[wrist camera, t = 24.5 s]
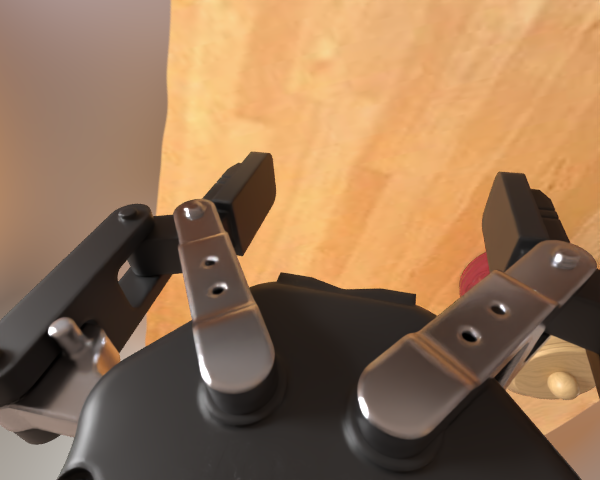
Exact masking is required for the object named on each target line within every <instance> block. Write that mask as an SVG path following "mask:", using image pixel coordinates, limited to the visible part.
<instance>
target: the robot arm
mask: <svg viewBox="0 0 600 480" xmlns="http://www.w3.org/2000/svg"><path fill="white" fill-rule="evenodd" d="M275 197H276V184H275V175H274V166H273V158H272V155H271V154H270V153H262V152H251V153H250V154H249V155H248V156H247V157H246V158H245V160H244V161H243V162H242V163H237V164H236V165H234V166H232V167H230V168H229V169H227V171H226V172H225V173H224V174H223V175H222V177H221V178H220V179H219V180H218V181H217V183H215V184H214V186H213V187H212V188H211V189H210V190H209V191H208V193H207V194H206V195H205V196H204V197H203V198H202V199H194V200H190V201H187V202H184V203H182V204H181V205H179V206H178V207H177V208H176V209H175V211H174V213H173V215H164V216H153V215H152V212H151V210H150V208H149V207H148V206H147V205H143V204H132V205H127V206H124V207H121V208H119V209H117V210H115V211H114V212H113V213H111V214H110V215H109V216H108V218H106V219H105V220H104V221H103V222H102V223H101V224H100V225H99V226H98V227H97V228H96V229H95V230H94V231H93V232H92V233H91V234H90V235H89V236H88V237H87V238H85V239H84V241H82V242H81V243H80V244H79V245H78V246H77V247H76V248H75V249H74V250H73V251H72V252H71V253H70V254H69V255H68V256H67V257H66V258H65V259H64V260H63V261H62V262H60V263H59V264H58V266H56V267H55V268H54V269H53V270H52V271H51V272H50V273H49V274H48V275H47V276H46V277H45V278H44V279H43V280H42V281H41V282H40V283H39V284H37V285H36V286H35V287H34V288H33V289H32V290H31V291H30V292H29V293H28V294H27V295H26V296H25V297H24V298H23V299H22V300H21V301H20V302H19V303H18V304H17V305H16V306H15V307H14V308H13V309H11V310H10V311H9V312H8V313H7V314H6V315H5V316H4V317H3V318H2V319H1V320H0V425H1V426H2V427H4V428H5V429H7V430H9V431H12V432H14V433H15V434H17V435H18V436H19V437H21V438H22V439H23V440H25V441H26V442H28V443H30V444H36V445H38V444H44V443H47V442H49V441H51V440H53V439H55V438H57V437H58V436H60V435H66V436H70V437H74V441H73V444H72V447H71V450H70V452H69V455H68V458H67V460H66V462H65V464H64V466H63V469H62V470H61V472H60V475H59V476H58V478H57V480H581V478H580V477H579V476H578V475H577V473H576V472H575V471H574V470H573V469H572V467H571V466H570V465H569V464H568V463H567V462H566V460H565V459H564V458H563V457H562V456H561V455H560V454H559V452H558V451H557V450H556V449H555V448H554V447H553V445H552V444H551V443H550V442H549V441H548V440H547V438H546V437H545V436H544V435H543V434H542V433H541V431H540V430H539V429H538V428H537V427H536V426H535V424H534V423H533V422H532V421H531V420H530V419H529V417H528V416H527V415H526V414H525V413H524V412H523V410H522V409H521V408H520V407H519V406H518V405H517V403H516V402H515V401H514V400H513V399H512V398H511V396H510V395H509V394H508V393H507V392H506V391H505V390H506V388H507V387H508V386H509V384H510V383H511V382H512V380H513V379H514V378H515V377H516V375H517V374H518V373H519V372H520V371H521V369H522V368H523V367H524V366H525V365H526V364H527V363H528V362H529V361H530V360H531V358H532V357H533V356H534V355H535V354H536V353H537V352H538V351H539V350H540V348H541V347H542V346H543V345H544V344H545V343H546V342H547V341H548V340H549V339H550V337H551V336H555V337H557V338H560V339H562V340H565V341H567V342H569V343H572V344H574V345H577V346H579V347H582V348H584V349H585V350H586V354H587V357H588V361H589V364H590V367H591V371H592V374H593V378H594V381H595V385H596V388H597V391H598V395H599V398H600V270H598V269H596V268H597V263H596V261H595V259H594V258H593V256H592V255H591V254H589V253H588V252H587V251H585V250H584V249H582V248H580V247H578V246H576V245H574V244H571V243H570V241H569V239H568V237H567V235H566V233H565V230H564V228H563V226H562V224H561V221H560V220H559V219H558V218H559V217H558V215H557V213H556V211H555V208H554V206H553V204H552V201H551V199H550V198H548V197H547V196H546V195H545V194H544V193H542V192H541V191H540V190H535V189H530V186H529V184H528V181H527V178H526V176H525V174H523V173H510V172H498V173H497V175H496V177H495V180H494V183H493V186H492V189H491V191H490V194H489V197H488V200H487V203H486V206H485V209H484V213H483V218H482V231H483V236H484V242H485V248H486V254H487V259H488V265H489V271H490V274H488V275H487V276H486V277H485V278H484V279H482V280H481V281H480V282H479V283H477V284H476V285H475V286H474V287H473V288H471V289H470V290H469V291H468V292H466V293H465V294H464V295H463V296H461V297H460V298H459V299H458V300H457V301H455V302H454V303H453V304H452V305H450V306H449V307H448V308H447V309H446V310H444V311H443V312H442V313H441V314H439V315H438V316H436V315H435V314H433V313H431V312H430V311H428V310H426V309H424V308H422V307H420V306H417V305H415V304H416V294H411V293H405V292H399V291H393V290H386V289H341V288H338V287H336V286H333V285H330V284H328V283H325V282H322V281H320V280H317V279H315V278H312V277H306V276H300V275H294V274H288V273H282V272H281V273H280V275H279V277H278V280H277V282H268V283H263V284H258V285H255V286H252V287H250V288H249V286H248V284H247V281H246V278H245V276H244V273H243V271H242V268H241V266H240V263H239V261H238V258H237V255H239V256H243V255H244V253H245V252H246V250H247V248H248V246H249V245H250V243H251V241H252V240H253V238H254V236H255V234H256V233H257V231H258V229H259V228H260V226H261V224H262V222H263V221H264V219H265V217H266V216H267V214H268V212H269V210H270V209H271V207H272V205H273V204H274V201H275ZM126 260H128V262H129V264H130V266H131V267H130V268H129V269H128V271H127V272H126V273H125V274H124V276H123V277H122V278H121V279H120V280H119V282H118V279H117V276H118V271H119V269H120V268H121V266H122V265H123V264H124V263H125V262H126ZM178 273H183V277H184V282H185V287H186V292H187V297H188V302H189V307H190V312H191V317H192V320H191V321H189V322H188V323H186V324H184V325H183V326H181V327H179V328H177V329H176V330H174V331H172V332H170V333H169V334H167V335H165V336H164V337H162V338H160V339H158V340H157V341H155V342H153V343H151V344H150V345H148V346H146V347H145V348H143V349H141V350H140V351H138V352H136V353H134V354H132V355H131V356H129V357H127V358H126V359H124V360H122V361H121V362H120V355H119V353H120V351H121V350H122V348H123V347H124V345H125V344H126V342H127V341H128V340H129V338H130V336H131V335H132V334H133V332H134V330H135V329H136V327H137V326H138V325H139V323H140V322H141V320H142V319H143V317H144V316H145V314H146V313H147V311H148V310H149V308H150V307H151V305H152V304H153V302H154V301H155V299H156V298H157V297H158V295H159V294H160V292H161V291H162V289H163V288H164V286H165V285H166V283H167V282H168V280H169V279H170V277H171V276H172V274H178Z"/></svg>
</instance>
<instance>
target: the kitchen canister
mask: <svg viewBox="0 0 600 480" xmlns="http://www.w3.org/2000/svg"><path fill="white" fill-rule="evenodd" d="M488 274H490V271H489V265H488V259H487V254H486V252H485V253H483V254H482V255H480V256H478V257H477V258H476V259H474V260H473V261H472V262H471V263H470V264H469V265H468V266H467V267H466V269H465V270H464V272H463V273H462V276H461V278H460V283H459V287H460V297H461V296H463V295H464V294H465V293H466V292H468V291H469V290H470V289H471V288H473V287H474V286H475V285H476V284H477V283H479V282H480V281H481V280H482V279H484V278H485V277H486V276H487V275H488ZM595 386H596V385H595V381H594V378H593V374H592V371H591V367H590V364H589V361H588V357H587V354H586V350H585V349H584V348H582V347H579V346H577V345H574V344H572V343H569V342H567V341H565V340H562V339H560V338H557V337H555V336H551V337H550V339H549V340H548V341H547V342H546V343H545V344H544V345H543V346H542V347H541V348H540V350H539V351H538V352H537V353H536V354H535V355H534V356H533V357H532V358H531V360H530V361H529V362H528V363H527V364H526V365H525V366H524V367H523V368H522V369H521V371H520V372H519V373H518V374H517V375H516V377H515V378H514V379H513V380H512V382H511V383H510V384H509V386H508V387H507V389H509V390H510V391H513V392H515V393H518V394H521V395H525V396H530V397H534V398H539V399H563V400H571V399H574V398H576V397H577V396H578V395H580V394H582V393H585V392H587V391H589V390H591V389H592V388H594V387H595Z"/></svg>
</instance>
